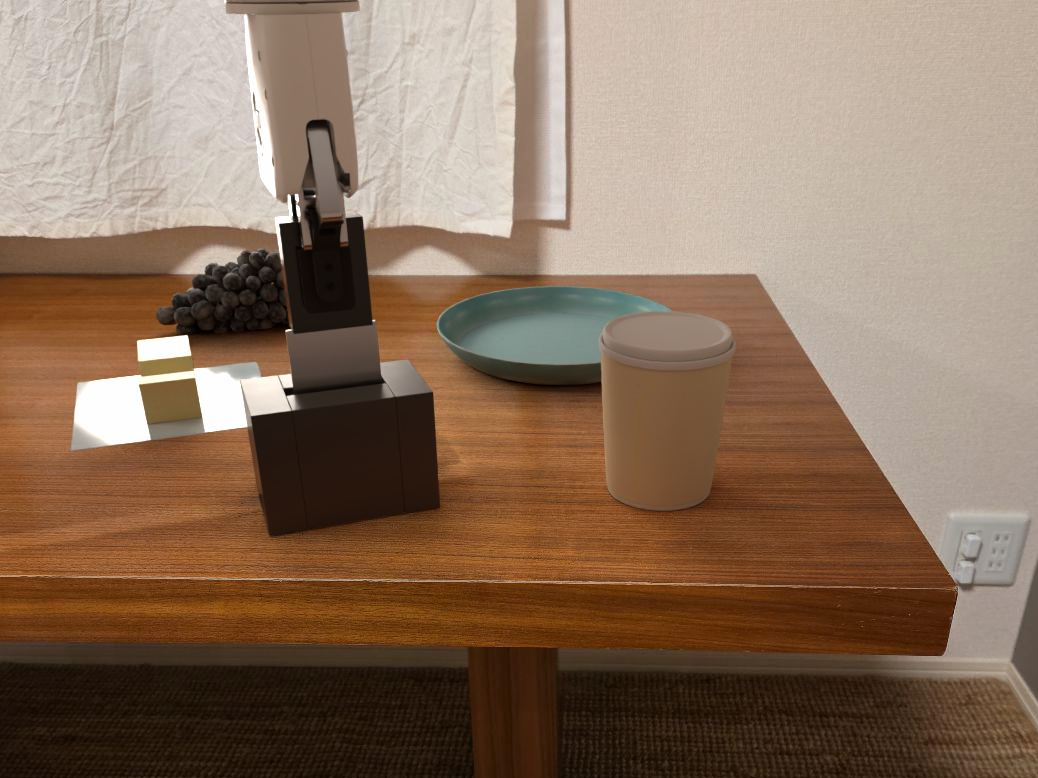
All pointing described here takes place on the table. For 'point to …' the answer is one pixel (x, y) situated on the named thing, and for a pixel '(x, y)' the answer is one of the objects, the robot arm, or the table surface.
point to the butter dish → (121, 419)
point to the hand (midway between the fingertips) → (326, 302)
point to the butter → (164, 356)
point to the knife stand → (342, 449)
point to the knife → (329, 320)
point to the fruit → (231, 297)
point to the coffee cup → (663, 406)
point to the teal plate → (537, 331)
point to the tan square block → (170, 397)
